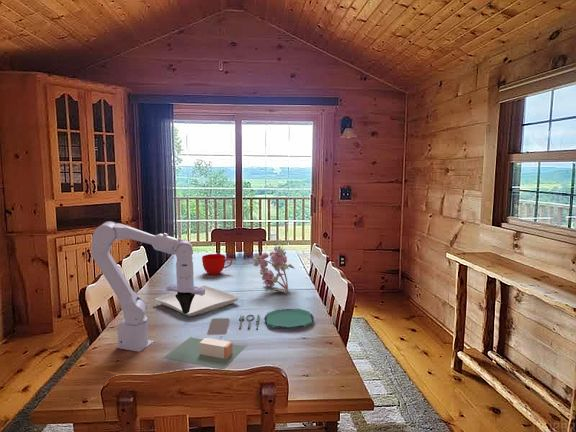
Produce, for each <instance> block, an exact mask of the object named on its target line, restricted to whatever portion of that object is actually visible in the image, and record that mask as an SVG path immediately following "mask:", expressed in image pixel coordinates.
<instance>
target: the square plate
mask: <svg viewBox="0 0 576 432" xmlns="http://www.w3.org/2000/svg"><path fill="white" fill-rule="evenodd" d="M198 287H199V288H203V289H205V294H204V295H203V296H200V295H197V294H195V296H194V298H193V300H192V303H191V306H190V311H189V312H188V313H187V314H184V313H183V311H182V308H181V305H180V303H179V301H178V300H177V298H176V295H177V293H178V292H172V293H169V294H164V295H163V296H159V297H155V298H154V300H155V301H157V302H158V303H160V304H161V305H163V306H166V307H168V308H170V309H172V310H175V311H177V312H179V313H181V314H183V315H185V316H188V317H194V316H197V315H201V314H204V313H208V312H211V311H214V310H217V309H219V308H223V307H225V306H227V305H231V304H233V303H236V302H237V301H239V299H240V297H239V296H237V295H234V294H232V293H229V292H226V291H224V290H221V289H217V288H215V287H211V286H208V285H202V286H198Z"/></svg>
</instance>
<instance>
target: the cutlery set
mask: <svg viewBox="0 0 576 432" xmlns="http://www.w3.org/2000/svg"><path fill="white" fill-rule="evenodd" d="M250 317H251V318H252V319H248V318H250ZM314 318H315V317H314V315H313V314H312V313H310V311H308V310H305V309H303V308H285V309H283V308H281V309H275V310H272V311H270V312H267V313H266V315H265V316H264V322H265V324H266V326H267V327H268V328H269V329H270V330H273V329H274V328H277V329H278V328H279V329H288V330H289V329H299V328H300V329H301V328H303V327H305V328H307V327H310V326H312V324H313V322H314ZM238 320H239V322H240V323H239V327H238V330H241V329H242V325H243V321H245V315H240V317H239V318H238ZM246 320H247V321H248V323H247V324H248V325H247V330H251V329H250V328H251V321H253V320H255V316H254V314H248V315H246ZM255 324H256V328H255V330H256V331H258V330H259V324H260V314H257V318H256V321H255Z"/></svg>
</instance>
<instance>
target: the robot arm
mask: <svg viewBox="0 0 576 432" xmlns="http://www.w3.org/2000/svg"><path fill="white" fill-rule="evenodd" d="M126 239H129V240H131V241H136V242H140V243H144V244H147V245H151V246H152V247H153V249H154V250H155V251H159V252H162V253H165V254H168V255H171V256H174V255H175V257H176V262H175V269H176V271H175V272H176V275H175V276H176V284H167V285H166V287H165V289H166V290H165V291H166V292H168V293H169V292H172V293H176V292H178V293H177V295H176V298H177V300H178V301H179V303H180V305H181V308H182V311H183V313H184V314H183V313H182V314H183V315H185V314H187V313H188V312H189V311H190V306H191V303H192V300H193V298H194V296H195V294H197V295H200V296H203V295H204V294H205V289H203V288H199V287H200V286H196V285H194V283H195V282H194V261H193V260H194V259H193V254H194V251H193V250H194V249H193V248H194V247H193V245H192V243H191V242H190V241H189V240H187V239H185V238H184V239H182V238H180V237H178V238H176V237H173V236H169V234H168V233H166V232H164V233H158V234H151V233H149V232H147V231H143V230H140V229H137V228H135V227H133V226H132V227H131V226H129V225H127V224H123V223H120V222H115V221H111V220H110V221H108V220H107V221H105V222H103V223H102V224H101V225H99V226H98V227H97V228H95V230H94V231H93V233H92V235H91V257H92V258H93V261H94V262H95V263H96V265H97V266H98V269H99V270H100V272H101V273H102V274H103V276H104V278H105V279H106V281H107V283H108V284H109V286H110V287H111V289H112V290H113V291H112V292H114V294H115V296H116V297H117V299H118V301H119V304H120V308H121V310H122V312H123V319H122V320H121V321H120V322H119V323H118V327H117V341H118V342H117V343H118V345H117V346H116V348H117V349H121V350H127V351H132V352H141V351H143V350H144V349H146V348H147V347H149V346H150V345H151V344H153V343H154V342H155V341H154V340H152V339H149V330H148V329H149V328H148V325H149V324H148V316H146V314H145V313H146V311H147V307H148V305H147V302H146V301H145V300H144V299H143V298H141V297H140V296H139V295H138V293H137V292H135V291H134V290H133V289H132V287H131V284H130V283H129V282H128V281H127V278H126V277H125V276H124V274H123V272H122V270H121V269H120V267H119V266H118V264H117V263H116V261H115V260H114V257H113V256H112V254H111V249H112V247H113V243H114V242H115V240H116V241H117V242H118V241H119V242H120V241H123V240H126Z"/></svg>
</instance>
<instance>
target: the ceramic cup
mask: <svg viewBox="0 0 576 432" xmlns="http://www.w3.org/2000/svg"><path fill="white" fill-rule="evenodd" d="M228 260H229V261H230V263H229V264H228V265H226V261H228ZM201 261H202V266H203V269H204V271H205V272H206V273H207V274H208V275H209V274H211V275H210V276H216V275H215V274H218V275H220V274H221V273H222V272H223V269H226V268H229V267H230V266H231V265H232V264H233V260H232V258H229V257H228V258H226V255H225V254H220V253H210V254H209V253H208V254H204V255H202V257H201ZM225 265H226V266H225ZM219 273H220V274H219Z"/></svg>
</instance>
